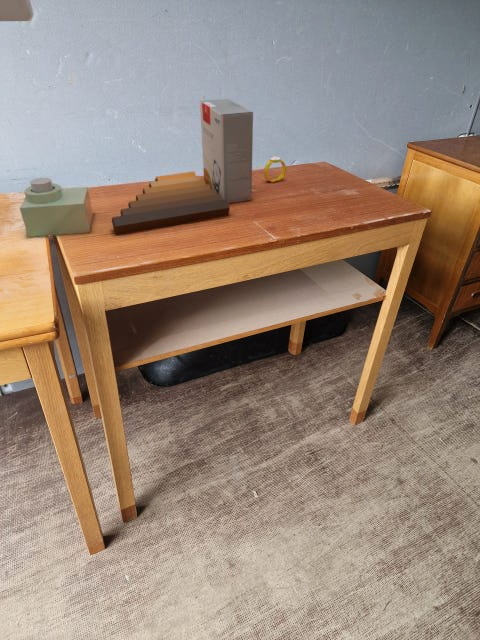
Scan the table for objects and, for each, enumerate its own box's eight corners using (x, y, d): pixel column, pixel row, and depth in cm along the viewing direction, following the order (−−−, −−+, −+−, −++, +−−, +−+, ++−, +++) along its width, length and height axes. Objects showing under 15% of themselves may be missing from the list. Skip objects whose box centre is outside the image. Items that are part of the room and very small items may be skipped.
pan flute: (116, 236, 90) (229, 216, 98) (114, 220, 88) (229, 201, 96) (96, 196, 108) (192, 182, 117) (93, 182, 106) (192, 169, 115)
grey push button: (31, 194, 88) (28, 184, 87) (34, 188, 91) (31, 178, 90) (52, 193, 88) (49, 183, 87) (55, 186, 92) (52, 177, 90)
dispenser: (28, 237, 90) (16, 198, 85) (36, 218, 97) (26, 181, 93) (89, 232, 91) (81, 194, 87) (92, 213, 99) (85, 178, 95)
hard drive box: (203, 184, 116) (199, 100, 104) (230, 180, 118) (229, 98, 106) (222, 205, 104) (220, 112, 92) (252, 200, 106) (254, 110, 94)
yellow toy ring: (281, 177, 120) (282, 155, 116) (287, 180, 118) (288, 157, 114) (262, 181, 118) (263, 158, 114) (267, 184, 116) (268, 161, 112)
